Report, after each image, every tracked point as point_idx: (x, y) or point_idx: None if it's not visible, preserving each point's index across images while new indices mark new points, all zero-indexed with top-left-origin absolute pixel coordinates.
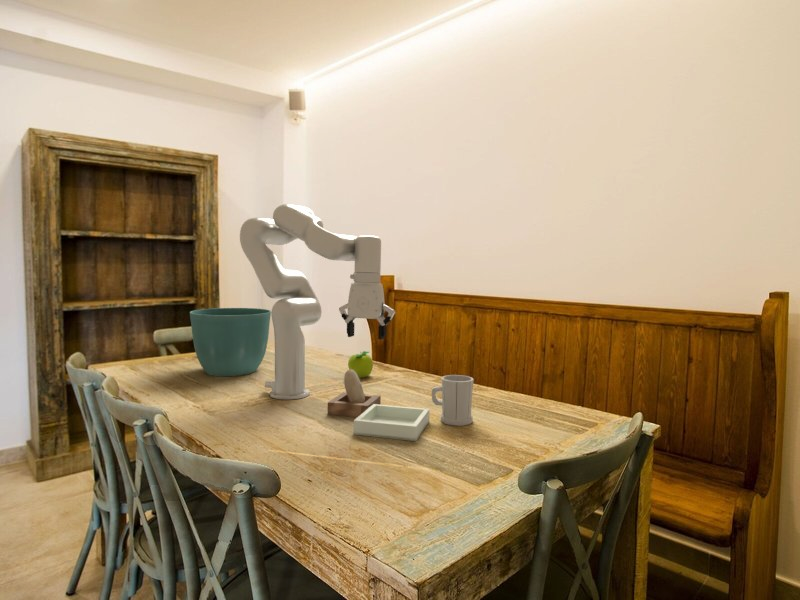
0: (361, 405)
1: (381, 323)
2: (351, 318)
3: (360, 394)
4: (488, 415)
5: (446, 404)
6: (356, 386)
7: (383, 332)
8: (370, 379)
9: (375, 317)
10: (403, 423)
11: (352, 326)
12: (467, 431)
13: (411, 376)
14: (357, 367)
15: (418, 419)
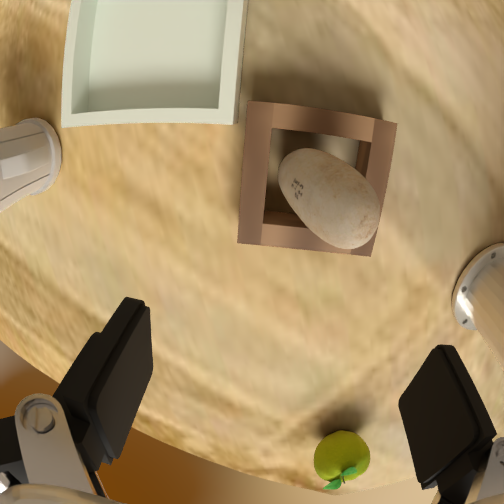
0: (272, 103)
1: (54, 427)
2: (481, 492)
3: (292, 163)
4: (4, 220)
5: (17, 132)
6: (312, 167)
7: (85, 353)
8: (316, 431)
9: (45, 497)
10: (131, 66)
11: (436, 443)
12: (12, 94)
13: (234, 452)
14: (348, 445)
15: (74, 23)
